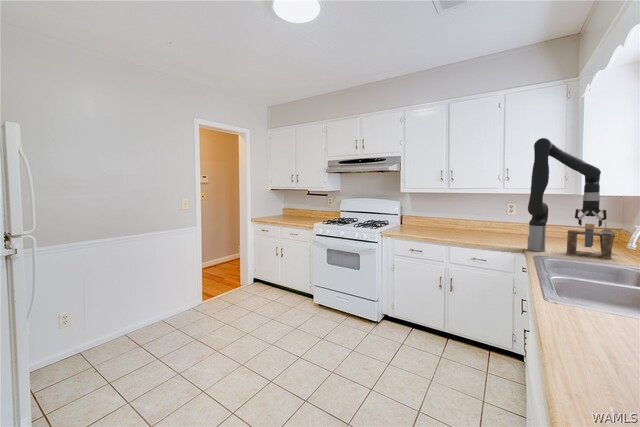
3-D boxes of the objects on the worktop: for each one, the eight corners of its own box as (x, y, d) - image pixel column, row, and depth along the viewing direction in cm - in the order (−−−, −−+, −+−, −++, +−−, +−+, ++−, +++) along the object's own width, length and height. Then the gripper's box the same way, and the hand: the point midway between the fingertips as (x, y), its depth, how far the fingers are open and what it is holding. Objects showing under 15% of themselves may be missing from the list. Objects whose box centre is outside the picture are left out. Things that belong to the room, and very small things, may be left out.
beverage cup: (616, 254, 182) (618, 223, 180) (601, 253, 184) (603, 222, 183) (610, 252, 188) (611, 222, 187) (595, 251, 191) (597, 221, 190)
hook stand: (566, 254, 184) (567, 231, 183) (568, 252, 191) (569, 229, 190) (610, 259, 169) (611, 234, 168) (611, 256, 176) (612, 232, 175)
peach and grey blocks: (583, 246, 178) (584, 224, 177) (585, 244, 184) (586, 223, 183) (592, 247, 175) (593, 224, 174) (593, 245, 181) (595, 223, 180)
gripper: (575, 200, 180) (573, 225, 182) (607, 200, 170) (605, 227, 171) (576, 199, 185) (575, 224, 187) (607, 199, 175) (606, 226, 176)
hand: (589, 226), depth 179 cm, fingers open, 8 cm apart
